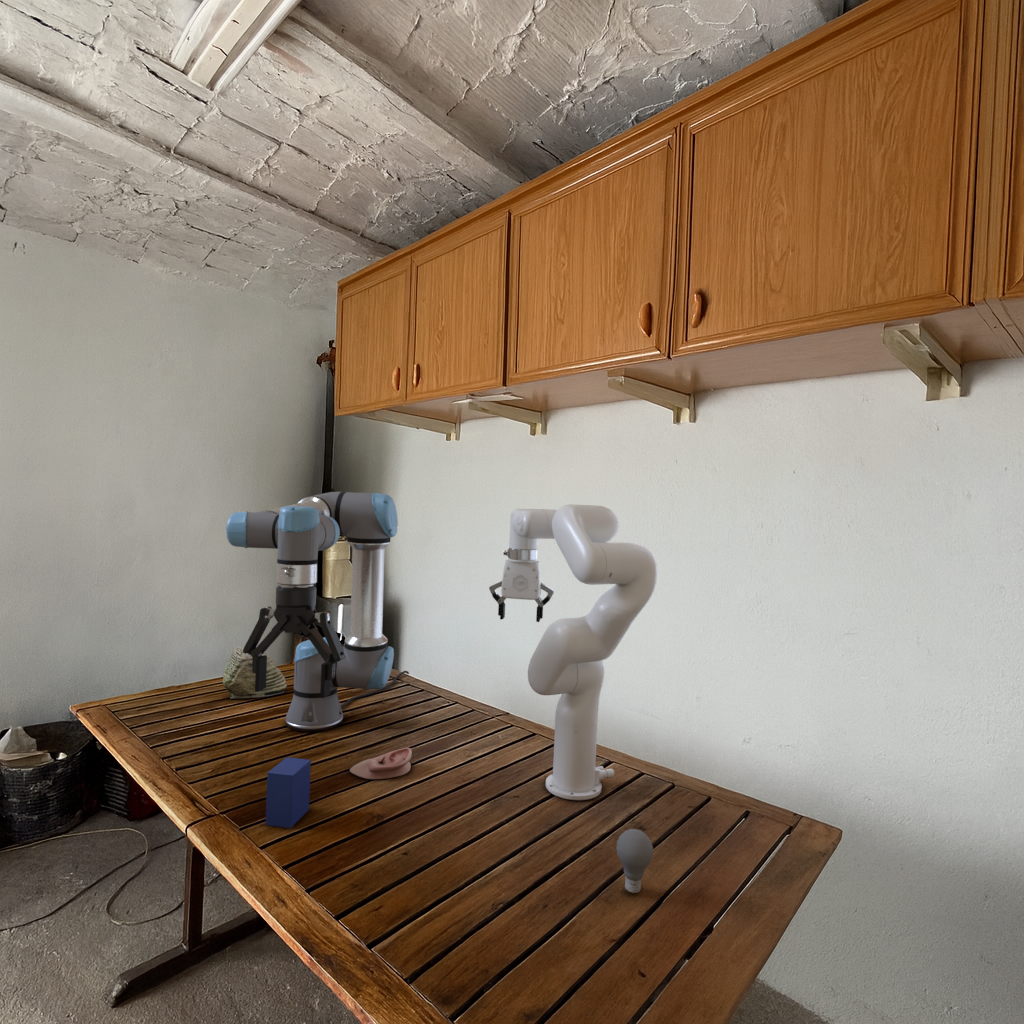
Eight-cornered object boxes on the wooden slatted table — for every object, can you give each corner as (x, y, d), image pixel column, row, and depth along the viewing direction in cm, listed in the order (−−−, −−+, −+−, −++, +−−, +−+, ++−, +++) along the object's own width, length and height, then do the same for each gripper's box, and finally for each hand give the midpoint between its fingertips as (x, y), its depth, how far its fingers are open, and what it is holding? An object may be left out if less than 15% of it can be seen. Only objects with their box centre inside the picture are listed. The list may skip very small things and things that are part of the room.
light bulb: (610, 879, 108) (613, 822, 108) (644, 879, 109) (647, 822, 109) (619, 902, 102) (622, 840, 102) (655, 901, 103) (658, 840, 103)
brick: (265, 825, 122) (267, 772, 121) (285, 806, 129) (286, 757, 129) (290, 828, 121) (292, 775, 121) (309, 809, 128) (310, 759, 128)
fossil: (218, 695, 195) (220, 647, 195) (278, 685, 208) (279, 640, 207) (228, 703, 189) (230, 653, 188) (289, 692, 201) (290, 645, 201)
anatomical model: (344, 758, 144) (365, 740, 155) (343, 775, 144) (365, 756, 155) (399, 766, 141) (417, 746, 152) (398, 783, 141) (416, 763, 152)
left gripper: (226, 583, 122) (222, 692, 122) (349, 591, 118) (344, 704, 119) (248, 578, 130) (244, 681, 130) (364, 586, 126) (360, 692, 126)
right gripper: (488, 554, 165) (485, 620, 165) (554, 558, 162) (551, 625, 163) (493, 552, 173) (490, 615, 173) (556, 556, 170) (553, 619, 170)
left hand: (292, 693), depth 124 cm, fingers open, 13 cm apart
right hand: (520, 619), depth 168 cm, fingers open, 9 cm apart
